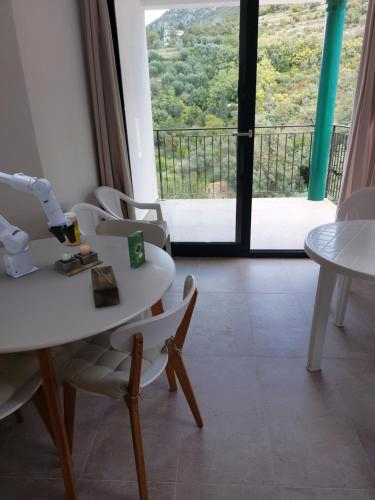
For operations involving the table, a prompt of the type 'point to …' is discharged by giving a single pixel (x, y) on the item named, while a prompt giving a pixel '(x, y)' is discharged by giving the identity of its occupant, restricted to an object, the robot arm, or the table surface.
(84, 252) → the terracotta plug
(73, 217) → the beer can
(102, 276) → the beverage carton
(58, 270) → the socket board
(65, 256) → the aluminium plug
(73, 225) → the robot arm
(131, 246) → the coffee box
